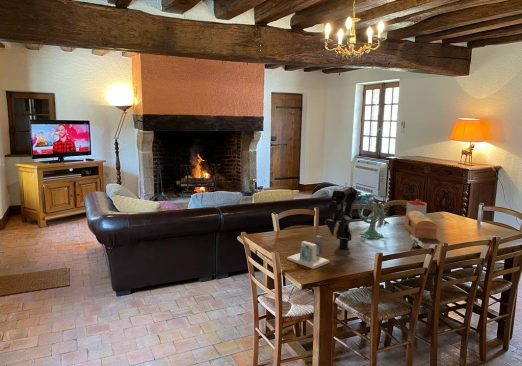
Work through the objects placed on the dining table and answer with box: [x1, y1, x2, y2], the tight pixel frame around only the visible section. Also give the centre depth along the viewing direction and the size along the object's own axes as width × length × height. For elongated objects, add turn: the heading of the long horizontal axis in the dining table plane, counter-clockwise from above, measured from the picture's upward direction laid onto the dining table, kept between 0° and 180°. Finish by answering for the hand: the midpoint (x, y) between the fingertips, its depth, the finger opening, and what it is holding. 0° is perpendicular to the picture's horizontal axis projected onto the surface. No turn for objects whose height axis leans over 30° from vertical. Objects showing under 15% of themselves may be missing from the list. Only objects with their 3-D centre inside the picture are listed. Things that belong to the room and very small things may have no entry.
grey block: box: [307, 235, 323, 256], centre depth 240 cm, size 12×3×12 cm, turn 134°
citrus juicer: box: [405, 199, 428, 216], centre depth 330 cm, size 16×17×20 cm
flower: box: [409, 233, 425, 252], centre depth 263 cm, size 13×6×30 cm
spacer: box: [299, 247, 312, 261], centre depth 235 cm, size 2×7×7 cm, turn 44°
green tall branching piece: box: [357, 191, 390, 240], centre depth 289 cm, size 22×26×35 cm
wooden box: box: [403, 211, 438, 240], centre depth 301 cm, size 30×16×14 cm, turn 173°
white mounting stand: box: [286, 240, 330, 270], centre depth 237 cm, size 15×20×11 cm
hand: (337, 234), depth 248 cm, fingers open, 9 cm apart
